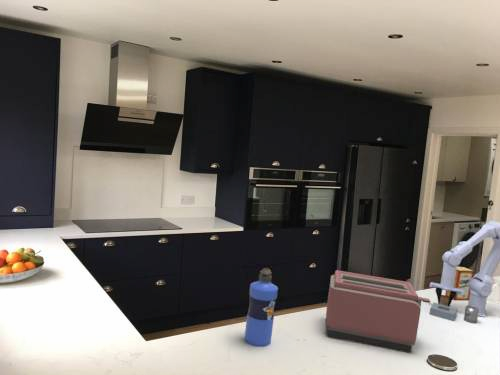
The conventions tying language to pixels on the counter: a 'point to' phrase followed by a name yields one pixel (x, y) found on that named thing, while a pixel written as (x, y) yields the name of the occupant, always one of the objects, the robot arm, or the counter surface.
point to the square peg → (444, 300)
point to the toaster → (373, 310)
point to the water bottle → (261, 310)
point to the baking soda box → (462, 283)
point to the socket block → (443, 311)
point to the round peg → (471, 314)
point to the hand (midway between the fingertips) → (443, 305)
